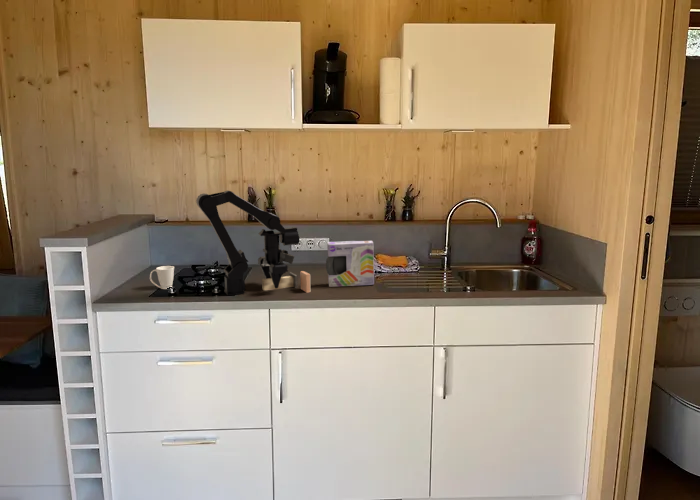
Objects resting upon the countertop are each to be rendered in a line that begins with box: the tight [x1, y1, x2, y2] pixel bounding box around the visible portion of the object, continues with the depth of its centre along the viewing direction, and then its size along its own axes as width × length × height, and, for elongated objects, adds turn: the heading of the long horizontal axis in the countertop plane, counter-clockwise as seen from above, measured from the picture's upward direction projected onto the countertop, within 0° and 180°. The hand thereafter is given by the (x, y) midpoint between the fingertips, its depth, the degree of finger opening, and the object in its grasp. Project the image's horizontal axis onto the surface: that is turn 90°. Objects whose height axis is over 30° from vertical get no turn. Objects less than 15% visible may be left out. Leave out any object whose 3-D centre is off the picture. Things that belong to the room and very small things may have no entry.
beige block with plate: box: [261, 271, 299, 291], centre depth 196 cm, size 13×7×5 cm, turn 117°
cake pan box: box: [325, 240, 375, 288], centre depth 199 cm, size 19×5×18 cm, turn 95°
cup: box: [149, 265, 175, 290], centre depth 196 cm, size 7×10×8 cm
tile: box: [299, 270, 311, 294], centre depth 192 cm, size 2×6×7 cm, turn 27°
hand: (273, 285), depth 195 cm, fingers open, 8 cm apart
